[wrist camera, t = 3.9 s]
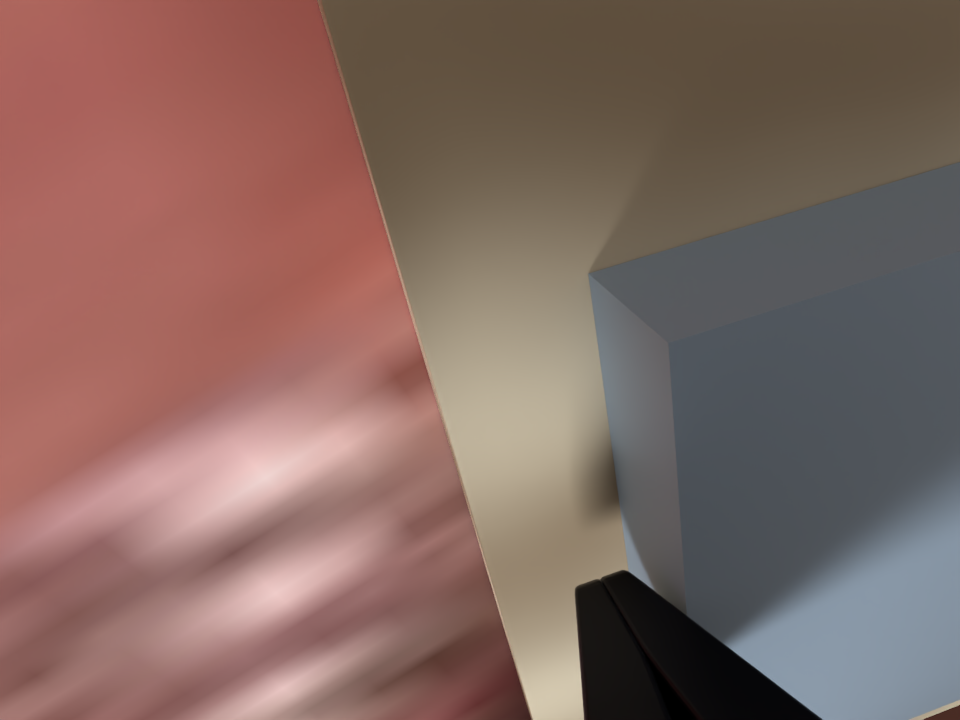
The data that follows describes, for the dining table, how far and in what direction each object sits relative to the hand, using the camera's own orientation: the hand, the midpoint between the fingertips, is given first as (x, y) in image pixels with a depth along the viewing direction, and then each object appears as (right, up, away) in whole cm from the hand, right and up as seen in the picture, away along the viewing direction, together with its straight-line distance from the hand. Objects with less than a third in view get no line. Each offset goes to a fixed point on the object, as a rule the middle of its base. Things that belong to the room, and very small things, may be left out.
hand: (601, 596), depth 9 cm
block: (+3, +1, +1) cm, 4 cm away
